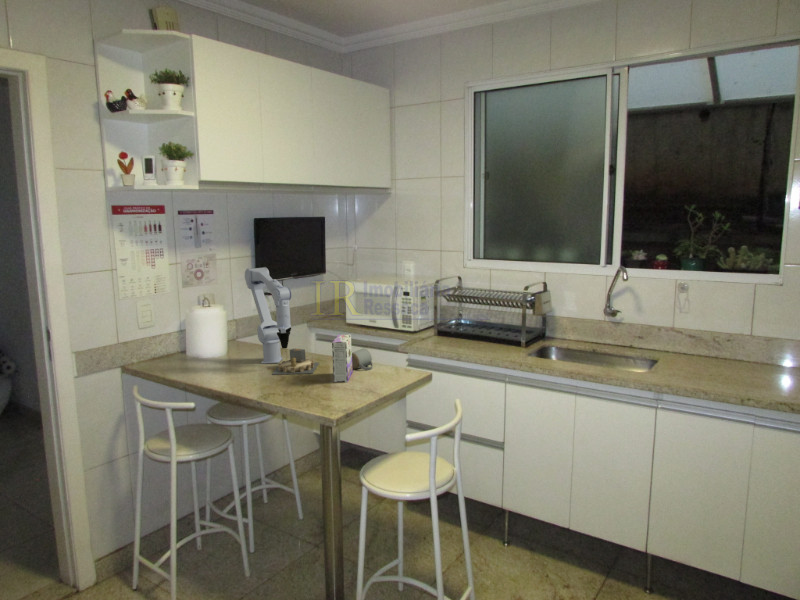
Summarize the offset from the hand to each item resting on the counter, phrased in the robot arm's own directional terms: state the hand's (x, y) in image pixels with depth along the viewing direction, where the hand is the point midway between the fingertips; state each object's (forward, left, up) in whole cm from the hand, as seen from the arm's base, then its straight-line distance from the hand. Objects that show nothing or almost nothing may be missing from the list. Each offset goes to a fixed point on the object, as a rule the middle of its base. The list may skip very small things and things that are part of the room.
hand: (285, 346), depth 239 cm
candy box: (+18, +27, -10) cm, 34 cm away
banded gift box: (-1, +5, -7) cm, 9 cm away
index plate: (+3, +5, -9) cm, 11 cm away
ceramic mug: (+4, +34, -10) cm, 35 cm away
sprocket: (+3, +5, -9) cm, 11 cm away
